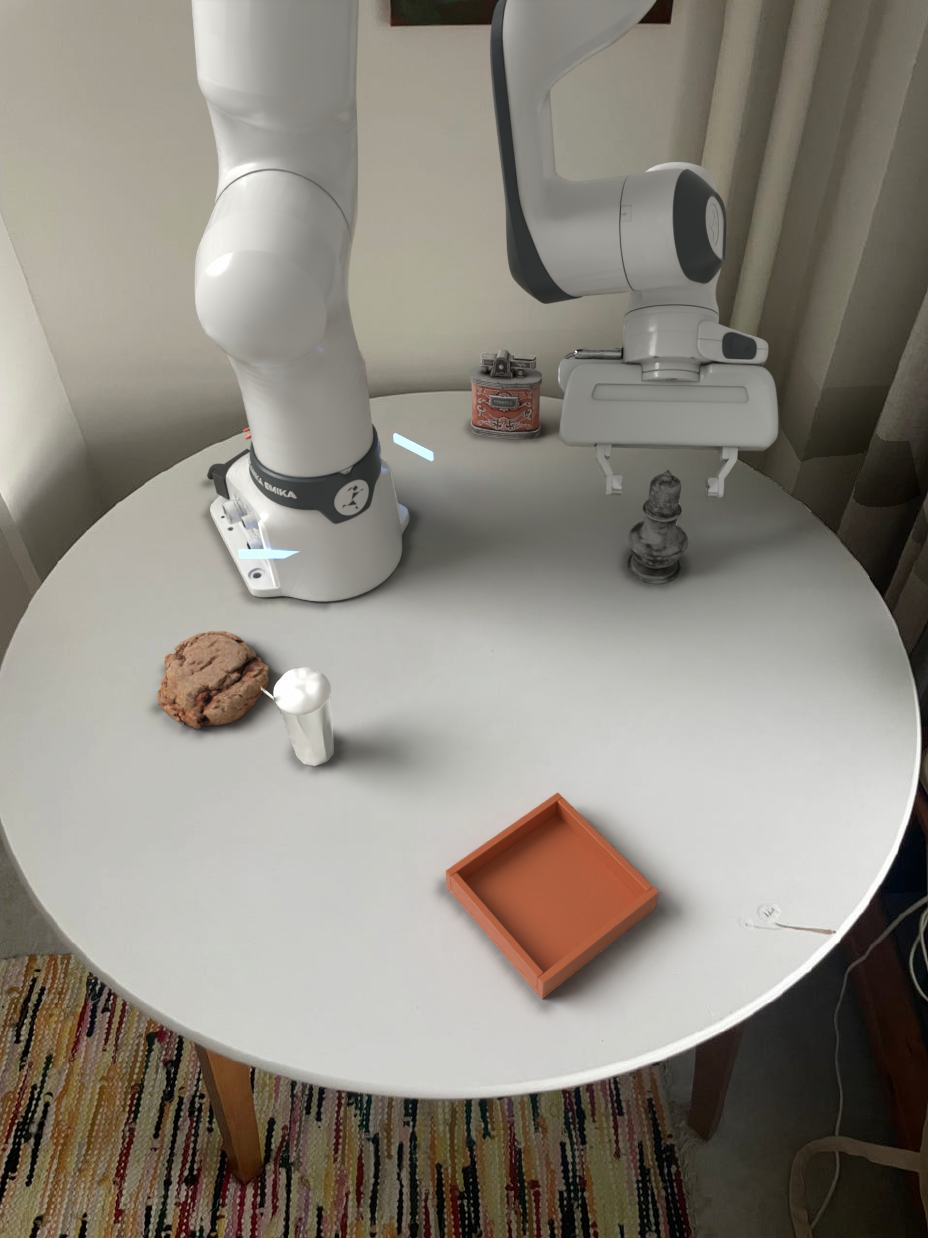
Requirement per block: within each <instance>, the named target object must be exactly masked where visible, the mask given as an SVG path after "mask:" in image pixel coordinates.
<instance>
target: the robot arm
mask: <svg viewBox="0 0 928 1238" xmlns="http://www.w3.org/2000/svg"><path fill="white" fill-rule="evenodd" d="M656 2H657V0H498V1H497V2H496V5H495V7H494V10H493V14H492V18H491V19H492V20H491V25H490V35H489V60H490V61H489V62H490V77H491V87H492V88H491V89H492V99H493V108H494V118H495V123H496V124H495V126H496V134H497V145H498V152H499V160H500V168H501V169H500V170H501V177H502V184H503V185H502V186H503V195H504V206H505V207H504V208H505V237H506V239H505V240H506V241H505V242H506V254H507V263H508V269H509V272H510V275H511V277H512V279H513V280H514V282H515V283H516V284H517V285H518V286H519V287H520V288H521V289H522V290H523V291H524V292H525V293H527V294H528V295H529V296H531V297H532V298H534V299H535V300H537V301H538V302H539V303H541V304H543V305H550V304H554V303H559V302H560V303H561V302H566V301H570V300H571V301H572V300H577V299H581V298H583V297H591V296H604V295H616V294H626V293H627V294H628V299H627V303H626V305H625V308H624V312H623V328H622V329H623V330H622V346H621V347H603V348H602V347H601V348H589V347H577V348H575V349H574V351H572V352H569V353H567V354H565V355H564V356H563V357H562V358H561V359H560V361H559V363H558V367H557V369H558V370H557V385H558V389H559V391H561V392H562V394H563V399H562V406H561V412H560V418H559V419H560V421H559V431H558V432H559V435H558V436H559V439H560V440H561V442H562V443H563V444H564V445H565V446H566V447H570V448H571V447H575V448H595V452H594V455H595V457H594V459H595V461H596V463H597V465H598V467H599V469H600V471H601V472H602V474H603V477H605V495H606V496H622V493H623V486H622V483H623V474H615V473H614V471H613V469H612V467H611V466H610V463H609V462H608V460H609V459H610V458H611V456H612V449H613V448H614V449H615V448H616V449H648V450H649V449H652V450H653V449H656V450H661V449H662V450H692V451H693V450H696V451H699V450H700V451H718V462H719V463H723V464H722V466H721V467H720V469H719V471H718V472H717V474H716V475H715V477H707V478H706V479H705V488H706V489H705V491H704V496H705V498H706V499H707V498H708V499H722V498H724V493H725V479H726V478H727V477H728V475H729V473H730V472H731V470H732V469H733V467H734V466H735V464H736V463H737V461H738V453H739V452H763V451H765V450H767V449H769V448H770V447H771V446H772V445H773V444H774V443H775V442H776V440H777V439H778V435H779V406H778V405H779V404H778V395H777V387H776V383H775V380H774V377H773V375H772V374H771V372H770V371H769V370H768V369H767V368H765V367H764V365H765V364H766V361H767V359H768V357H769V343H768V342H767V341H766V340H765V339H762V338H760V337H758V336H756V335H752V334H749V333H746V332H742V331H740V330H738V329H734V328H731V327H729V326H725V325H723V324H720V309H719V305H718V302H717V295H716V294H717V293H716V292H717V284H718V281H719V278H720V275H721V270H722V267H723V265H724V264H725V262H726V249H727V247H726V246H727V244H726V243H727V211H726V207H725V203H724V201H723V198H722V197H721V196H720V194H719V192H718V191H719V190H718V186H717V181H716V179H715V177H714V175H713V174H712V172H710V171H709V170H708V169H706V168H705V167H703V166H701V165H698V164H695V163H693V162H688V161H687V162H686V161H667V162H662V163H659V164H656V165H654V166H652V167H650V168H648V169H647V170H645V171H641V172H634V173H629V174H625V175H618V176H617V175H616V176H611V177H603V178H595V179H588V180H579V181H577V180H576V181H575V180H570V179H568V178H564V177H562V176H561V175H559V174H558V172H557V169H556V156H555V143H554V128H553V114H552V101H551V100H552V99H551V90H552V88H553V87H554V86H555V85H556V84H557V83H558V82H559V81H561V79H563V78H564V77H565V76H566V75H568V74H569V73H571V71H574V69H576V68H577V67H579V66H580V65H582V64H583V63H585V62H587V61H588V60H589V59H592V58H593V57H594V56H596V55H598V54H599V53H601V52H603V51H605V50H607V49H608V48H610V47H611V46H613V45H614V44H616V43H617V42H618V41H620V40H621V39H622V38H624V36H626V35H627V34H628V33H629V32H630V31H631V30H632V29H633V28H634V27H636V26H637V24H639V23H640V22H641V20H642V19H643V18H644V17H645V16H646V15H647V14H648V12H649V11H650V10H651V9H652V8H653V6H654V5H655V4H656ZM359 8H360V0H191V13H192V25H193V26H192V27H193V40H194V48H195V51H194V52H195V63H196V79H197V83H198V87H199V89H200V92H201V93H202V95H203V97H204V98H205V101H206V105H207V109H208V114H209V116H210V117H209V118H210V121H211V126H212V131H213V136H214V141H215V146H216V153H217V162H218V164H217V165H218V182H217V187H216V188H217V189H216V195H215V200H214V204H213V208H212V211H211V215H210V217H209V220H208V222H207V225H206V227H205V229H204V232H203V234H202V237H201V240H200V241H199V245H198V247H197V251H196V254H195V262H194V263H195V264H194V303H195V310H196V314H197V315H196V316H197V319H198V320H199V323H200V325H201V327H202V329H203V331H204V332H205V334H206V336H207V337H208V339H210V340H211V342H212V343H213V344H214V345H215V346H216V347H217V348H219V350H220V351H222V352H223V353H225V354H226V356H227V358H228V360H229V362H230V364H231V367H232V369H233V371H234V374H235V376H236V378H237V382H238V386H239V389H240V392H241V396H242V401H243V405H244V410H245V414H246V415H245V416H246V419H247V424H248V427H246V428H245V429H243V432H244V433H247V432H249V433H248V434H247V435H245V437H244V439H245V440H250V439H251V442H250V446H249V448H246V449H244V450H243V451H241V452H239V453H238V454H237V455H235V456H233V457H232V458H231V459H229V460H227V461H226V462H225V463H214V464H212V465H211V466H210V467H209V468H208V471H207V474H206V477H207V479H208V480H209V481H210V480H212V481H213V484H214V485H213V486H214V488H215V492H216V494H217V495H218V497H216V498H215V499H214V501H213V502H212V503H211V505H210V507H209V510H210V516H211V518H212V520H213V522H214V524H215V527H216V529H217V530H218V532H219V534H220V536H221V538H222V540H223V543H224V544H225V547H226V548H227V550H228V552H229V554H230V556H231V558H232V560H233V563H234V564H235V565H236V569H238V572H239V573H240V576H241V577H242V580H243V582H244V584H245V585H246V587H247V589H248V592H249V593H250V594H251V595H252V596H254V597H257V598H276V597H288V598H289V597H290V598H294V599H298V600H303V601H311V602H334V601H342V600H347V599H351V598H354V597H357V596H360V595H362V594H365V593H367V592H369V591H372V590H373V589H374V588H376V587H378V586H380V584H382V583H383V582H385V581H386V580H387V579H388V578H389V577H390V576H391V575H392V574H393V572H394V571H395V570H396V569H397V567H398V566H399V563H400V561H401V559H402V555H403V534H404V532H405V531H406V528H407V527H408V525H409V523H410V519H411V517H410V513H409V509H408V508H407V507H406V506H405V505H403V504H402V503H399V501H398V496H397V491H396V487H395V482H394V477H393V476H394V475H393V471H392V467H391V465H390V463H389V462H388V461H386V460H384V459H383V458H382V446H381V441H380V438H379V436H378V435H379V434H378V430H377V428H376V427H375V425H374V424H373V420H372V419H373V418H372V411H371V402H370V401H371V400H370V393H369V392H370V391H369V384H368V375H367V366H366V359H365V356H364V354H363V352H362V351H361V349H360V348H359V343H358V341H357V337H356V333H355V329H354V324H353V319H352V313H351V307H350V297H349V278H350V277H349V276H350V263H351V257H352V249H353V244H354V238H355V233H356V228H357V223H358V214H359V213H358V212H359V211H358V210H359V208H358V207H359V206H358V205H359V141H358V140H359V139H358V138H359V137H358V133H359V132H358V105H357V104H358V102H357V101H358V100H357V85H358V84H357V81H358V79H357V78H358V45H359V43H358V42H359V16H360V15H359V10H360V9H359ZM573 357H574V358H573ZM393 442H394V443H395V444H397V445H399V446H401V447H403V448H405V449H407V450H409V451H411V452H413V453H414V454H417V455H418V456H420V457H422V458H424V459H426V460H428V461H430V462H432V461H434V452H433V451H432V450H429V449H428V448H425V447H423V446H421V445H419V444H417V443H416V442H414V441H411V440H410V439H407V438H406V437H404V436H402V435H400V434H398V433H396V432H395V433H394V434H393ZM738 451H739V452H738Z"/></svg>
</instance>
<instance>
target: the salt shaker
mask: <svg viewBox="0 0 928 1238" xmlns="http://www.w3.org/2000/svg"><path fill="white" fill-rule="evenodd" d="M681 492H682V483H681V481H680V479H679V478H678V477H676V476H675V475H674V474H672V472H671V471H670V470H669V469H666V470H665V471H664V472H663V473H659V474H657V475H655V476H654V477H653V478H652V479H651V481H650V484H649V490H648V497H647V500H646V501H644V503H643V505H642V511H643V513H644V520H642V521H639V522H637V523H636V524H634V525H633V526H632V527H630V529H629V530H628V533H627V535H626V536H627V539H626V540H627V543H628V545H629V549H630V551H631V553H630V555H629V556H628V558H627V561H626V563H627V565H626V566H627V569H628V572H629V573H630V574H631V575H632V576H633V577H634V578H635V579H637V580H638V581H641V582H642V583H643V582H644V583H647V584H651V585H661V584H667V583H669V582H672V581H673V580H675V579H676V578H677V577H678V576H679V575H680V573H681V568H682V566H681V561H680V558H681V557H682V555H683V554H684V553H685V552H686V550H687V549H688V546H689V537H688V534H687V533H686V531H685V530H684V529H683V528H682V527H681V526H679V525H678V524H677V522H678V518H679V517H680V516H681V515H682V511H683V509H682V506H681V504H680V498H681Z"/></svg>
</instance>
